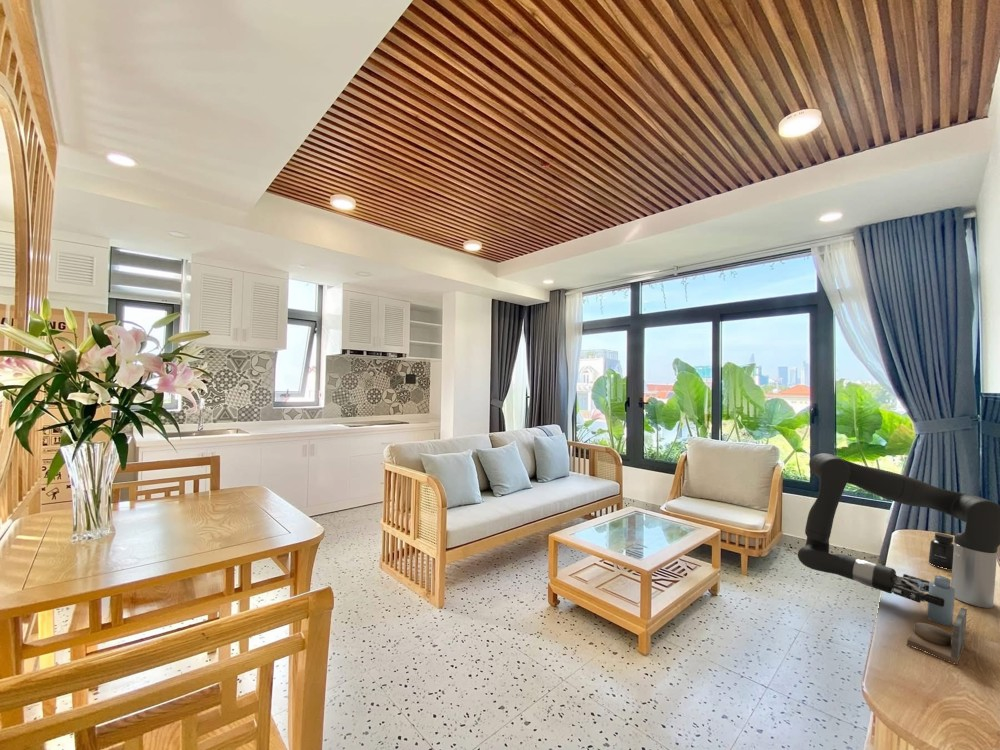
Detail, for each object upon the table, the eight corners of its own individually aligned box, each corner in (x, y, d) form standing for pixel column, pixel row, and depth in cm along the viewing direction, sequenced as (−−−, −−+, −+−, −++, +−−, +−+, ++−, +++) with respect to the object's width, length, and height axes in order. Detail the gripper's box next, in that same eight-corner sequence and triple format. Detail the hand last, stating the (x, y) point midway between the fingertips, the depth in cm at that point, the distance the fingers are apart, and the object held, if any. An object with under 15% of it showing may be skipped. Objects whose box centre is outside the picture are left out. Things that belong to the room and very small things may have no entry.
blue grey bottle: (928, 613, 128) (931, 572, 128) (953, 621, 124) (956, 579, 124) (925, 618, 125) (928, 576, 125) (951, 627, 121) (954, 584, 120)
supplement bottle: (934, 568, 160) (937, 536, 160) (924, 560, 166) (926, 530, 166) (959, 572, 157) (961, 540, 157) (947, 564, 164) (950, 533, 164)
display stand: (917, 627, 120) (920, 594, 120) (964, 644, 113) (967, 609, 113) (906, 645, 112) (909, 609, 111) (957, 665, 104) (959, 627, 104)
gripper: (868, 569, 132) (943, 593, 119) (880, 558, 140) (951, 579, 128) (866, 593, 132) (941, 619, 119) (878, 581, 141) (949, 604, 128)
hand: (946, 598), depth 123 cm, fingers open, 8 cm apart
